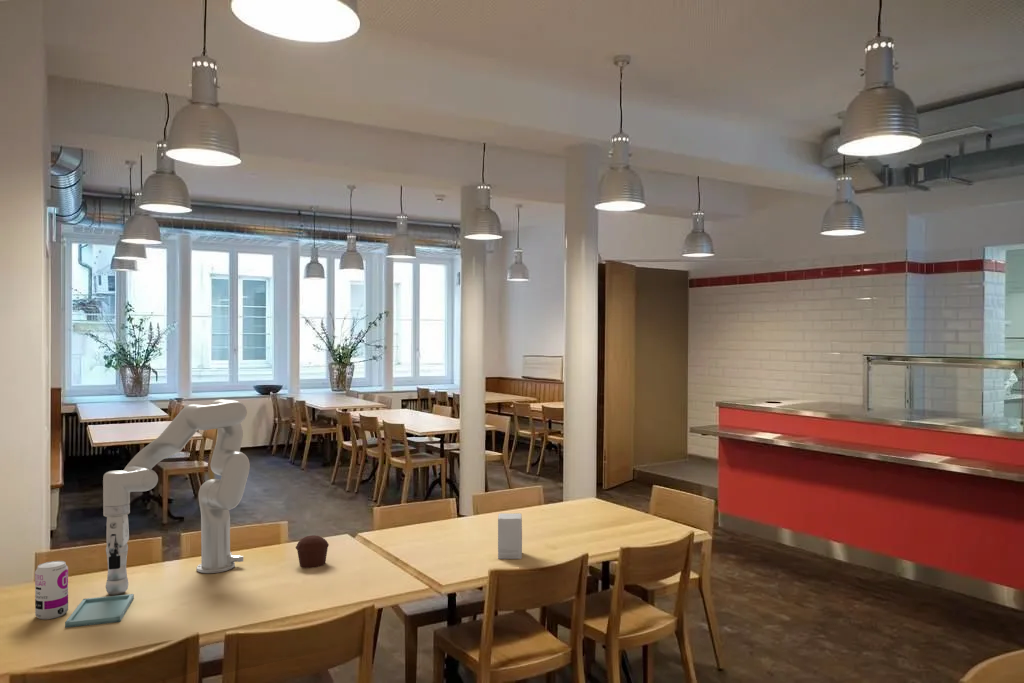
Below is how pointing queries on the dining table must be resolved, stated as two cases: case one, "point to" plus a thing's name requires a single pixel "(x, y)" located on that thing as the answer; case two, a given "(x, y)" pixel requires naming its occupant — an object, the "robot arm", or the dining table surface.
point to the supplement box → (510, 536)
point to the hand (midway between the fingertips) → (117, 564)
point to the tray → (100, 610)
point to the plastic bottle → (117, 573)
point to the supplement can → (51, 590)
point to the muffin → (312, 551)
